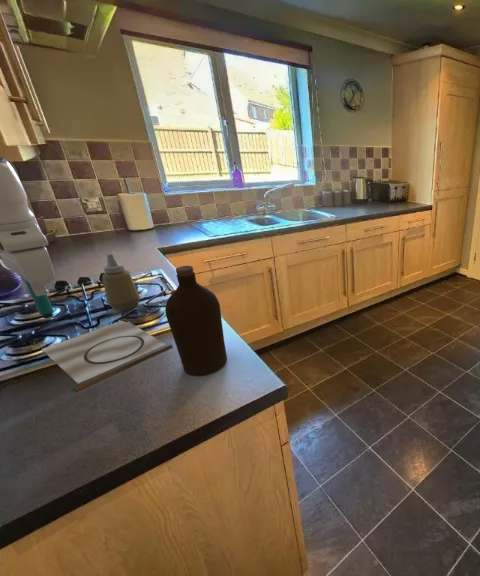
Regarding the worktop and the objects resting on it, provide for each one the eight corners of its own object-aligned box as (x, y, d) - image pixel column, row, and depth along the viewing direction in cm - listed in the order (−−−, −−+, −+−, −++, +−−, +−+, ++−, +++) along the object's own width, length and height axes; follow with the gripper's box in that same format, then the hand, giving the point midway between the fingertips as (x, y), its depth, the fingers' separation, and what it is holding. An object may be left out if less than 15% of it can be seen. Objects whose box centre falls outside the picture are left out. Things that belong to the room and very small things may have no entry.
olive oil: (223, 376, 76) (203, 276, 66) (173, 380, 74) (144, 278, 64) (234, 349, 85) (218, 259, 75) (190, 352, 83) (167, 260, 73)
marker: (39, 317, 77) (18, 269, 72) (53, 313, 79) (33, 266, 74) (43, 320, 76) (22, 271, 71) (57, 316, 78) (37, 268, 73)
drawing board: (36, 353, 81) (34, 349, 80) (128, 320, 96) (127, 316, 96) (75, 392, 69) (73, 387, 69) (173, 347, 85) (172, 343, 85)
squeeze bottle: (136, 300, 107) (120, 248, 100) (147, 308, 103) (131, 253, 96) (106, 309, 101) (87, 254, 94) (116, 317, 97) (97, 260, 90)
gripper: (-24, 228, 72) (4, 286, 77) (5, 246, 62) (34, 310, 68) (16, 223, 77) (40, 277, 82) (49, 239, 67) (73, 299, 73)
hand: (37, 292), depth 75 cm, fingers closed on marker, 2 cm apart
